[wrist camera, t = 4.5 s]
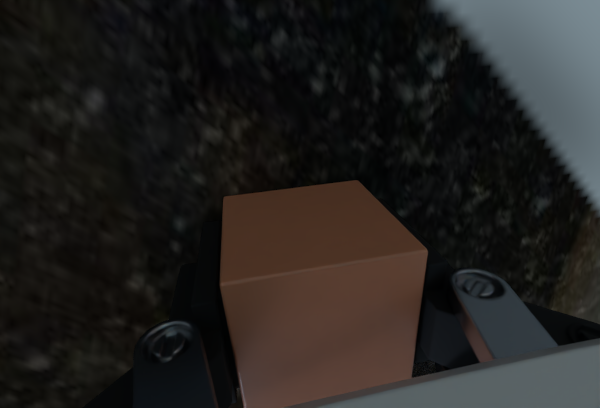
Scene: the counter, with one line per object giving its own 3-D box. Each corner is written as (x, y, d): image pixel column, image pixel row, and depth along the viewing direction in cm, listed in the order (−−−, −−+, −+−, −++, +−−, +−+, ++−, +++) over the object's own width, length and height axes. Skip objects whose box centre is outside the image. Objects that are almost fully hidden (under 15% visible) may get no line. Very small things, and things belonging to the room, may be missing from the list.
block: (241, 305, 12) (246, 426, 8) (222, 195, 10) (218, 284, 6) (355, 285, 13) (411, 387, 9) (358, 178, 11) (429, 249, 7)
